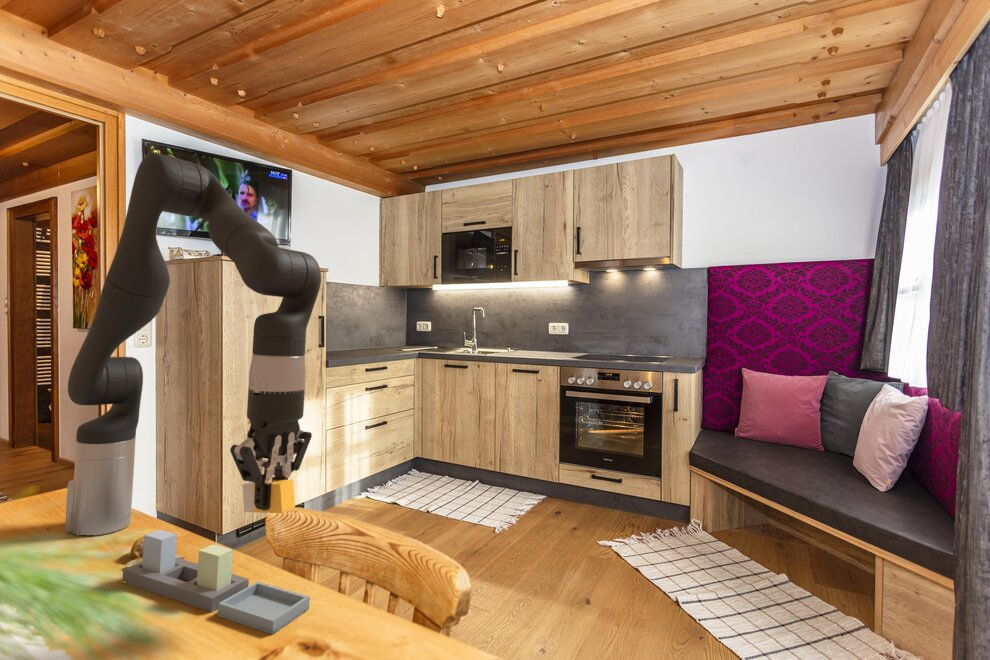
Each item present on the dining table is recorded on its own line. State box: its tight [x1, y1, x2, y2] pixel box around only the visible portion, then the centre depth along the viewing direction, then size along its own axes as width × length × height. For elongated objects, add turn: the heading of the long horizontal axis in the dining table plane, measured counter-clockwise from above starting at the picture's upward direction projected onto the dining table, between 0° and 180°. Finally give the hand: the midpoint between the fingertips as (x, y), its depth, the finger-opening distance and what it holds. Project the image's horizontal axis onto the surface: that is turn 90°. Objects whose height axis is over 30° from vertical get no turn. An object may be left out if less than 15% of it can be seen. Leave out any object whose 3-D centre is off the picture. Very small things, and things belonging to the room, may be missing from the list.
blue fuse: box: [142, 529, 178, 574], centre depth 80 cm, size 4×2×7 cm, turn 69°
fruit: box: [125, 535, 185, 568], centre depth 87 cm, size 8×8×4 cm
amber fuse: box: [242, 479, 296, 514], centre depth 73 cm, size 4×2×7 cm
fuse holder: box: [121, 557, 250, 613], centre depth 78 cm, size 19×6×2 cm, turn 69°
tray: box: [217, 581, 311, 635], centre depth 73 cm, size 10×7×2 cm
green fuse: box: [197, 544, 234, 592], centre depth 76 cm, size 4×2×7 cm, turn 69°
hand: (270, 505), depth 73 cm, fingers closed on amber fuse, 2 cm apart
